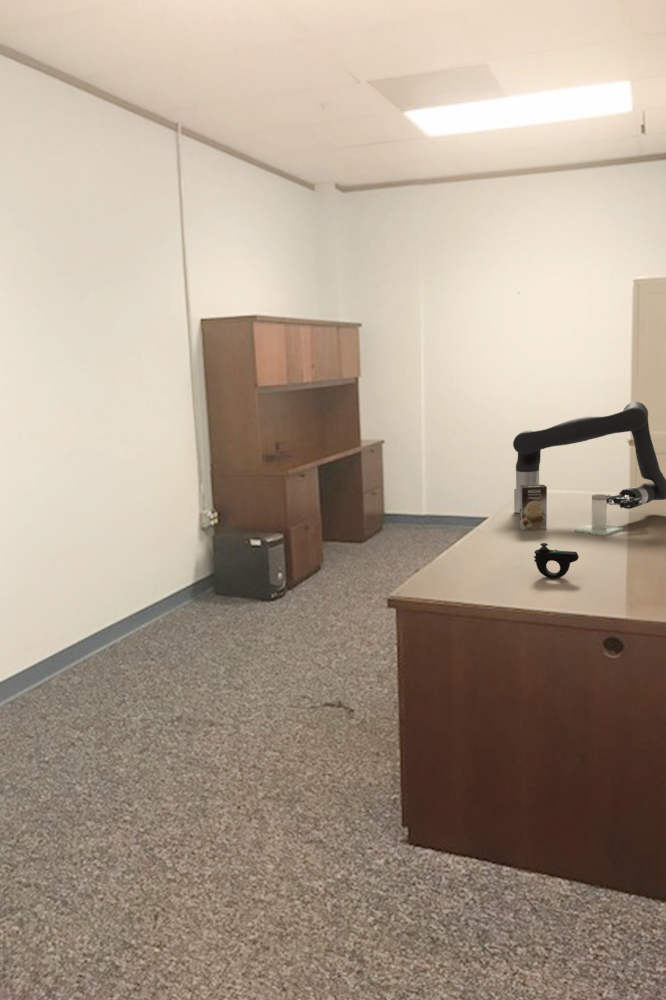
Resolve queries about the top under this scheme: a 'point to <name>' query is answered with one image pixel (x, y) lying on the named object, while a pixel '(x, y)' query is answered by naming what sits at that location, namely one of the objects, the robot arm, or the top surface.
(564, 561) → the controller
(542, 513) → the coffee box
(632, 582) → the top surface
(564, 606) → the top surface
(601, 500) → the ceramic jar
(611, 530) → the sage pad
